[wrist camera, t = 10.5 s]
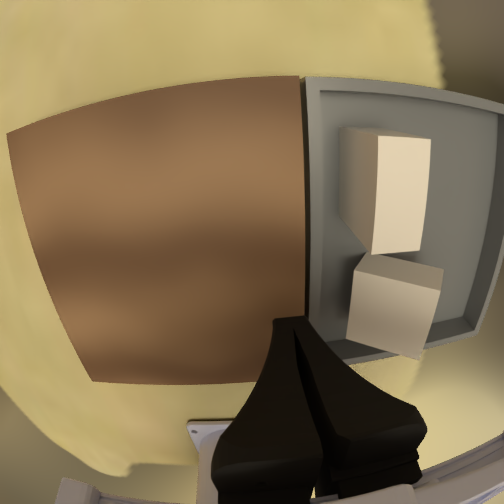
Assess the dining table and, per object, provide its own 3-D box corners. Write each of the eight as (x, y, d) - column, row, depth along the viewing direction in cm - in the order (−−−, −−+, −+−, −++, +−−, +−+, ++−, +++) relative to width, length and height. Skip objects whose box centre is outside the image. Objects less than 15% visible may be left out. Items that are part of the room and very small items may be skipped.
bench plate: (295, 346, 18) (301, 377, 15) (103, 354, 18) (92, 381, 15) (288, 81, 12) (299, 75, 9) (35, 127, 11) (6, 133, 9)
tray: (462, 317, 18) (477, 334, 16) (300, 346, 18) (306, 371, 16) (498, 106, 12) (522, 110, 10) (295, 81, 12) (305, 76, 10)
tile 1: (338, 215, 14) (378, 213, 14) (371, 254, 10) (419, 250, 10) (339, 126, 12) (381, 127, 12) (378, 135, 8) (431, 139, 8)
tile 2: (345, 338, 15) (358, 317, 16) (418, 360, 13) (425, 335, 14) (353, 270, 13) (366, 252, 15) (440, 290, 11) (444, 269, 12)
